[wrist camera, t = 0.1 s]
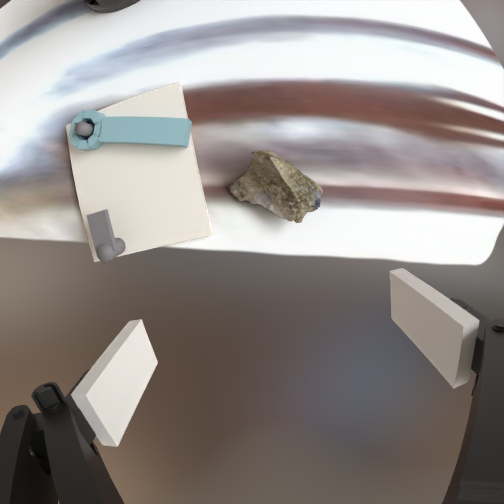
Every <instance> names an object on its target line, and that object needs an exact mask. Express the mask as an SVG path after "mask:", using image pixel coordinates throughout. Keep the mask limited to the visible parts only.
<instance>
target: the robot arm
mask: <svg viewBox="0 0 504 504" xmlns="http://www.w3.org/2000/svg"><path fill="white" fill-rule="evenodd" d="M138 1H139V0H83V2H84V3H85V4H86V5H87V6H88V7H89V8H90V9H92V10H94V11H96V12H113V11H117V10H120V9H123V8H126V7H128V6H130V5H132V4H134V3H136V2H138ZM390 287H391V312H392V319H393V321H395V323H396V324H397V325H398V326H399V327H400V328H401V329H402V330H403V331H404V332H405V334H406V335H407V336H408V337H409V338H410V339H411V340H412V341H413V342H414V343H415V345H416V346H417V347H418V348H419V349H420V350H421V351H422V352H423V354H424V355H425V356H426V357H427V358H428V359H429V360H430V362H431V363H432V364H433V365H434V366H435V367H436V368H437V370H438V371H439V372H440V373H441V374H442V375H443V377H444V378H445V379H446V380H447V381H448V382H449V384H450V385H451V386H452V387H453V388H455V387H458V386H460V385H462V384H464V383H466V382H468V381H469V377H470V373H471V369H472V370H473V371H474V372H475V373H476V374H477V375H476V379H475V384H474V387H473V391H472V396H473V397H472V402H471V407H470V412H469V417H468V422H467V426H466V430H465V434H464V438H463V442H462V446H461V450H460V453H459V457H458V460H457V463H456V466H455V470H454V472H453V476H452V478H451V481H450V485H449V487H448V490H447V492H446V495H445V498H444V500H443V502H442V504H504V319H501V318H498V319H493V320H489V319H488V318H487V317H485V316H484V315H482V314H481V313H479V312H478V311H476V310H474V309H473V308H472V307H471V306H470V307H469V305H468V304H466V303H464V302H463V301H461V300H458V299H454V298H451V299H448V298H447V297H445V296H444V295H442V294H441V293H440V292H438V291H437V290H435V289H433V288H432V287H431V286H429V285H428V284H426V283H425V282H423V281H421V280H420V279H418V278H417V277H415V276H414V275H412V274H411V273H409V272H408V271H406V270H405V269H403V268H400V269H396V270H392V271H390ZM157 363H158V362H157V359H156V357H155V354H154V352H153V349H152V347H151V344H150V342H149V339H148V336H147V333H146V330H145V328H144V325H143V322H142V320H134V321H129V322H128V324H127V325H126V326H125V327H124V328H123V330H122V331H121V332H120V333H119V334H118V336H117V337H116V338H115V339H114V341H113V342H112V343H111V344H110V345H109V347H108V348H107V349H106V350H105V352H104V353H103V354H102V355H101V357H100V358H99V359H98V360H97V362H96V363H95V364H94V365H93V367H91V368H90V369H89V370H87V371H86V372H85V373H84V374H83V375H82V377H81V378H80V380H79V381H78V382H77V383H76V385H75V386H74V387H73V388H72V389H71V391H70V392H69V393H68V395H67V396H66V397H64V396H63V394H62V392H61V390H60V388H59V387H58V385H57V384H56V383H54V382H49V383H45V384H43V385H41V386H39V387H37V388H36V389H35V390H34V391H33V393H32V398H33V400H34V401H35V403H36V405H37V407H38V408H39V410H40V411H41V413H36V414H32V412H31V411H30V409H29V408H28V406H26V405H20V406H15V407H14V408H12V409H11V411H10V412H9V413H8V414H7V416H6V419H5V422H4V425H3V428H2V431H1V433H0V504H58V500H59V503H60V504H124V502H123V500H122V498H121V496H120V495H119V493H118V491H117V489H116V487H115V485H114V483H113V481H112V479H111V478H110V475H109V473H108V471H107V469H106V467H105V465H104V462H103V460H102V458H101V456H100V453H99V451H98V449H97V447H96V445H95V444H94V443H93V440H94V438H95V436H97V438H98V439H99V441H100V442H101V443H102V445H107V446H118V445H119V443H120V440H121V438H122V436H123V434H124V432H125V430H126V427H127V425H128V423H129V421H130V419H131V417H132V415H133V413H134V411H135V409H136V406H137V404H138V402H139V400H140V398H141V396H142V394H143V392H144V390H145V388H146V386H147V383H148V382H149V380H150V378H151V375H152V373H153V371H154V369H155V367H156V365H157ZM31 454H32V455H31Z"/></svg>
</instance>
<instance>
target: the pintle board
mask: <svg viewBox="0 0 504 504" xmlns="http://www.w3.org/2000/svg"><path fill="white" fill-rule="evenodd" d="M98 112H100V113H103V114H104V115H105V117H115V116H135V117H169V118H187V119H188V117H187V112H186V107H185V102H184V97H183V92H182V86H181V84H180V82H178V83H174V84H171V85H168V86H165V87H161V88H158V89H155V90H152V91H149V92H146V93H143V94H140V95H138V96H135V97H132V98H129V99H127V100H124V101H121V102H119V103H116V104H114V105H111V106H109V107H106V108H104V109H101V110H99V111H98ZM72 123H73V122H72ZM70 125H71V123H70V124H68V125H66V129H67V137H68V145H69V151H70V158H71V164H72V170H73V175H74V181H75V186H76V191H77V196H78V200H79V205H80V209H81V214H82V218H83V222H84V226H85V230H86V234H87V238H88V242H89V245H90V249H91V252H92V256H93V259H94V262H97V261H102V262H108V261H110V260H111V259H113V258H115V257H118V256H122V255H126V254H131V253H135V252H139V251H143V250H147V249H152V248H156V247H161V246H165V245H169V244H174V243H178V242H183V241H187V240H192V239H196V238H201V237H205V236H210V235H212V234H213V231H212V226H211V222H210V218H209V214H208V209H207V205H206V201H205V196H204V192H203V187H202V183H201V178H200V174H199V169H198V165H197V160H196V155H195V151H194V146H193V141H192V136H191V132H190V138H189V145H188V147H177V146H162V145H145V144H120V143H104V144H103V145H102V146H101V147H100V148H99V149H96V150H82V149H77V148H75V147H74V145H73V144H72V142H71V141H70V139H69V138H70V136H69V131H70ZM94 127H95V124H94V122H93V121H91V122H90V123H89V124H88V123H85V122H78V123H77V124H76V125H75V128H74V130H75V133H76V134H79V135H83V136H84V137H85V138H86V140H88V139H89V138H90V137H91V136H92V135H93V133H94Z"/></svg>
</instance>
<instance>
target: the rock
mask: <svg viewBox="0 0 504 504" xmlns="http://www.w3.org/2000/svg"><path fill="white" fill-rule="evenodd" d="M251 156H252V159H253V160H252V162H251V165H250V166H249V167H248V170H247V172H246V173H245V174H244V175H242V176H240V177H239V178H238V179H237V180H236V181H235V182H234V184H233V185H231V186H230V187H229V189H230V191H231V192H232V193H233V195H234V196H235V197H236V198H237V199H238V200H239V201H244V200H248V201H249V202H250V203H251V204H256V203H257V204H260V205H262V206H263V207H264V208H266V209H269V210H271V211H272V212H273V213H274V214H276V215H277V216H279V217H281V218H283V219H287V220H288V221H292V220H294V221H295V222H296V223H300V222H302V219H303V218H304V216H305V214H306V213H307V212H312V211H315V210H316V209H318V207H320V198H319V197H320V196H322V193H323V191H322V188H321V187H320V186H319V185H318V184H317V183H316V182H314V181H313V180H312V179H310V178H309V177H307V176H306V175H304V174H302V173H301V172H300V171H299V170H298V169H297V168H295V167H294V166H293V165H292V164H291V163H290V162H287V161H285V160H283V159H282V158H280V157H279V156H277V155H276V154H275V153H272V152H271V151H268V150H262V151H260V152H252V153H251Z"/></svg>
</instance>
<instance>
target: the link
mask: <svg viewBox="0 0 504 504" xmlns="http://www.w3.org/2000/svg"><path fill="white" fill-rule="evenodd" d="M91 121H93V122H94V124H95V127H94V133H93V135H92V136H91V137H90V138H89V139H88V140H86V138H85V137H84V136H83V135H79V134H76V133H75V130H74V128H75V125H76V124H77V123H78V122H85V123H88V124H89V123H90V122H91ZM72 122H73V123H71V125H70V131H69V136H70V138H69V139H70V141H71V142H72V144H73V145H74V147H75V148H77V149H82V150H96V149H99V148H100V147H101V146H102V145H103V144H104V143H120V144H145V145H162V146H177V147H188V145H189V138H190V131H191V125H192V122H191V121H190V120H189V119H187V118H169V117H135V116H115V117H105V115H104V114H103V113H100V112H98V111H95V110H83V112H80V113H79V114H78V115H77V116H76V117H75V118H74V119H73V120H72Z"/></svg>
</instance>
